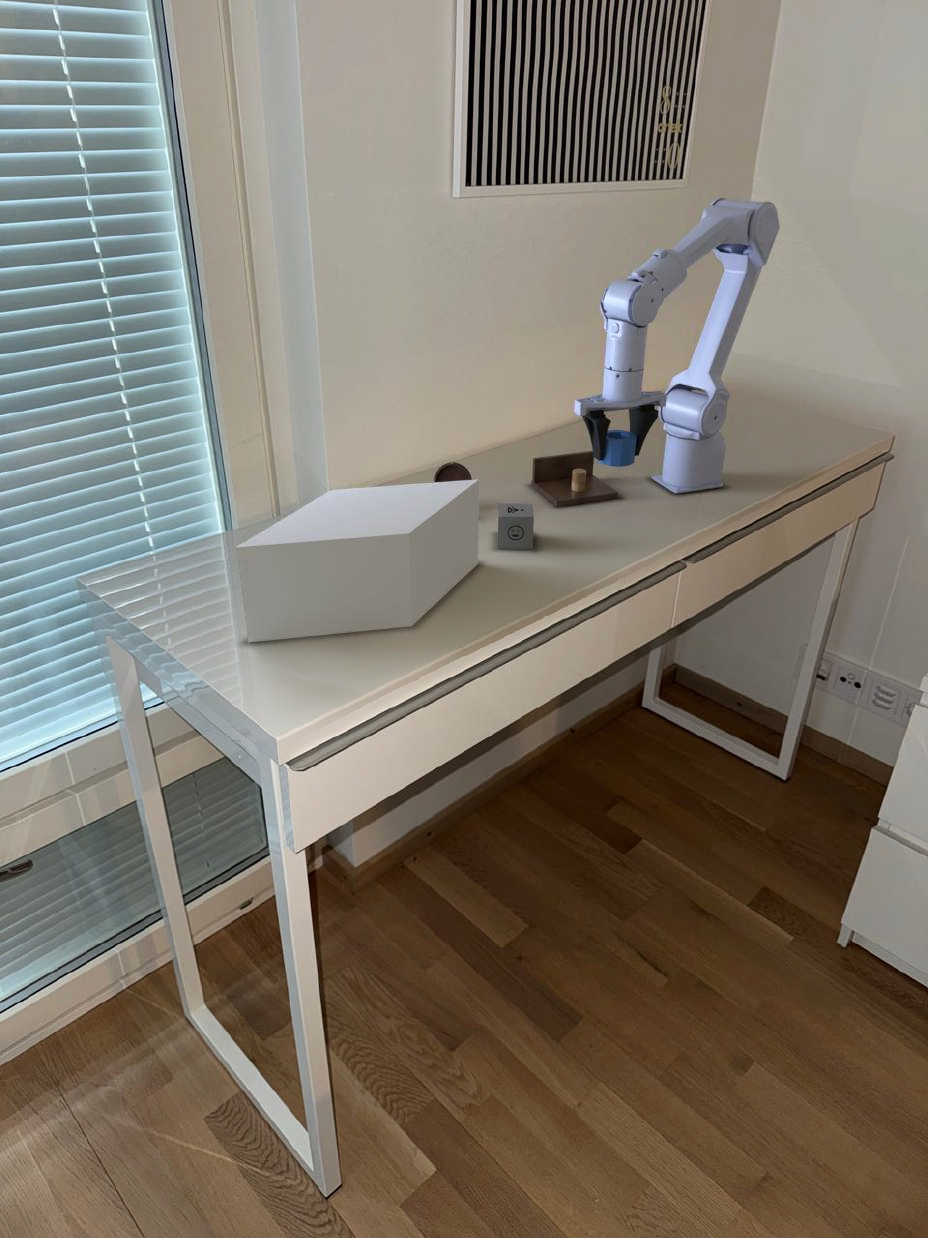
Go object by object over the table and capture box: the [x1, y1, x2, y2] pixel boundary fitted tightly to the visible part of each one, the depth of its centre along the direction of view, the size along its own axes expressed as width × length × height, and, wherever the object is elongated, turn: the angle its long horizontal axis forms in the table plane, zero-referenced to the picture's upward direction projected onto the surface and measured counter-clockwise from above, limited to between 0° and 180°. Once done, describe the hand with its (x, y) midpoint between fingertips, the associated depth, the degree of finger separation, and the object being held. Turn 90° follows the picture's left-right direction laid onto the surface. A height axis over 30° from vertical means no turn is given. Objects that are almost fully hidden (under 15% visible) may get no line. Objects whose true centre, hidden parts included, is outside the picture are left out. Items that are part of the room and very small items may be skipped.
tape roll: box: [596, 429, 637, 468], centre depth 139 cm, size 6×6×4 cm
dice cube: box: [497, 502, 535, 550], centre depth 132 cm, size 5×5×5 cm
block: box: [235, 479, 480, 643], centre depth 114 cm, size 18×35×12 cm, turn 128°
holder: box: [530, 450, 619, 508], centre depth 149 cm, size 11×10×5 cm
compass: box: [433, 461, 473, 483], centre depth 140 cm, size 8×8×7 cm
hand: (616, 456), depth 140 cm, fingers closed on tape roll, 5 cm apart
